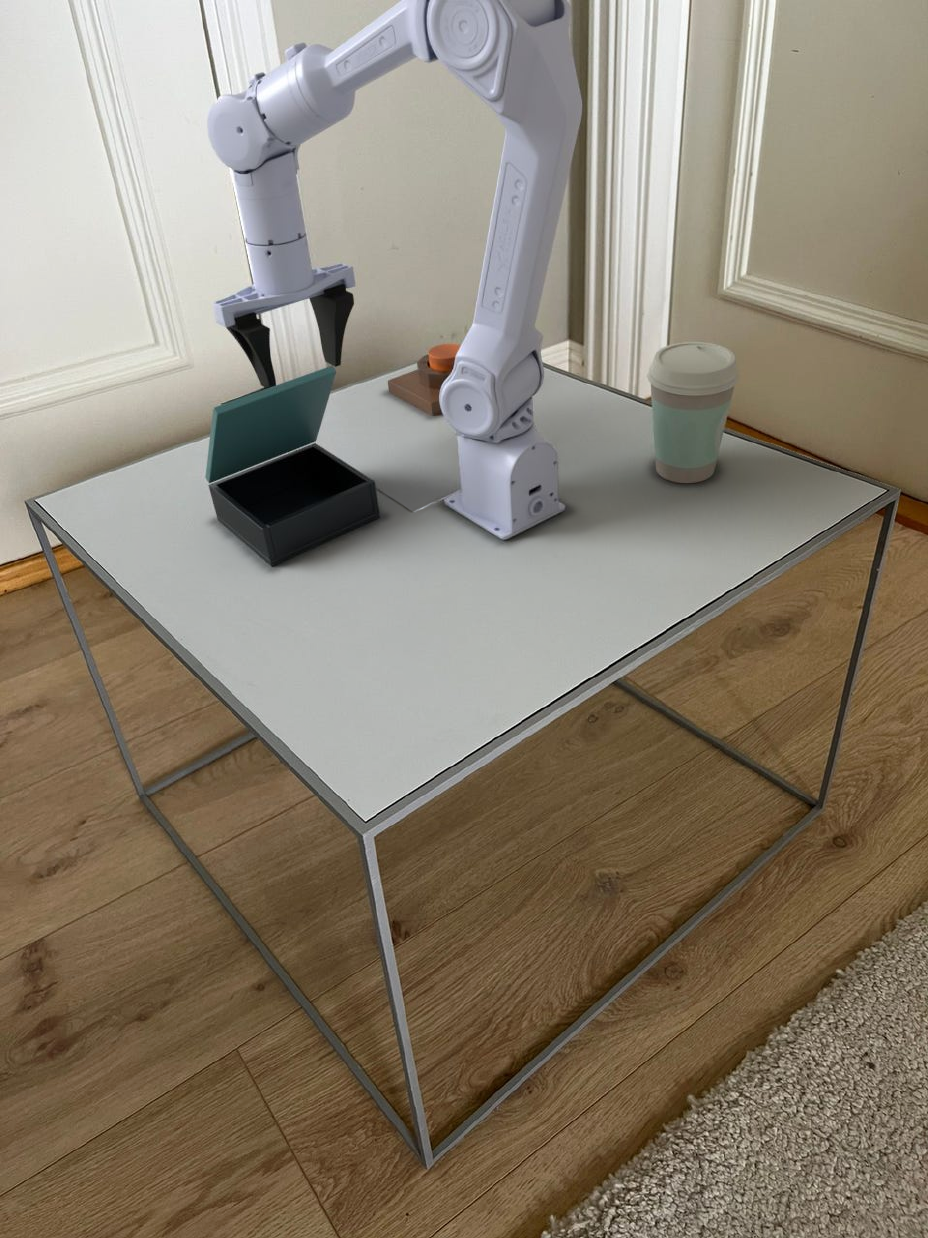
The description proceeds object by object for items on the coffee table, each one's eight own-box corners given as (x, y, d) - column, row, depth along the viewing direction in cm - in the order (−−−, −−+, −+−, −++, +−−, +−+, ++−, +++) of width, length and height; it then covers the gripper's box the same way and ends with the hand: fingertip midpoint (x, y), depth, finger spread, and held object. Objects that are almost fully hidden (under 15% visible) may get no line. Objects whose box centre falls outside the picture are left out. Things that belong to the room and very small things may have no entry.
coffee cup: (728, 492, 92) (742, 376, 85) (640, 488, 94) (646, 374, 86) (727, 450, 99) (740, 339, 91) (644, 447, 100) (650, 338, 93)
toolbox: (336, 371, 87) (309, 330, 88) (217, 414, 81) (189, 370, 82) (316, 441, 97) (292, 404, 98) (208, 484, 92) (184, 444, 93)
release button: (451, 354, 116) (450, 340, 115) (473, 364, 113) (472, 350, 112) (422, 365, 114) (421, 351, 113) (444, 375, 111) (443, 361, 110)
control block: (465, 363, 121) (464, 337, 119) (511, 384, 115) (510, 357, 113) (388, 393, 115) (385, 366, 113) (432, 416, 110) (429, 388, 108)
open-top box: (380, 517, 93) (375, 481, 90) (271, 567, 87) (262, 529, 85) (321, 477, 100) (315, 442, 98) (217, 520, 95) (207, 484, 92)
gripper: (319, 210, 94) (340, 343, 102) (185, 247, 87) (219, 385, 95) (358, 223, 89) (376, 361, 97) (220, 262, 82) (252, 406, 91)
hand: (301, 374), depth 96 cm, fingers open, 7 cm apart
